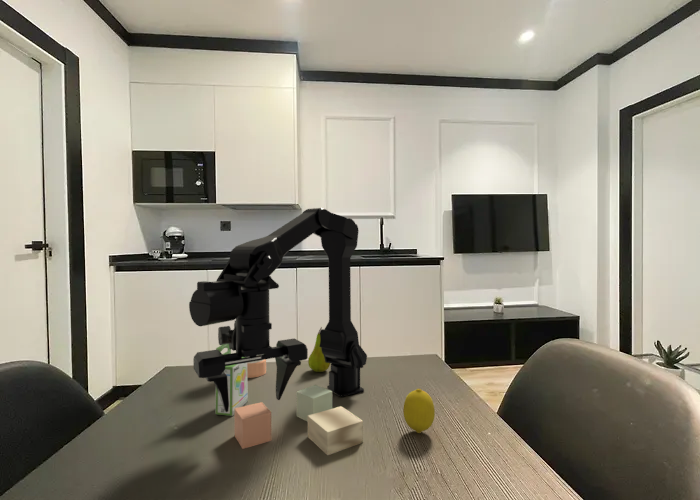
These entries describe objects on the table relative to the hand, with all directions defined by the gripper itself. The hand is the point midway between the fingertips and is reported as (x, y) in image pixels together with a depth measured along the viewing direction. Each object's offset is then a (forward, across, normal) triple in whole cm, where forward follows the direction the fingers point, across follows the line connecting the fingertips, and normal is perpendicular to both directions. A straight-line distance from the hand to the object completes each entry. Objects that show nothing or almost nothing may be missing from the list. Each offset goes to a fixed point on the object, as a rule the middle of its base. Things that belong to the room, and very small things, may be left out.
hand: (253, 404), depth 66 cm
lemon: (+6, -26, +14) cm, 30 cm away
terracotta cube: (+6, 0, 0) cm, 6 cm away
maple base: (+6, -12, +8) cm, 16 cm away
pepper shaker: (+6, -10, -33) cm, 35 cm away
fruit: (+6, -26, -25) cm, 36 cm away
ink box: (+6, 0, -14) cm, 15 cm away
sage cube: (+6, -13, -2) cm, 14 cm away
